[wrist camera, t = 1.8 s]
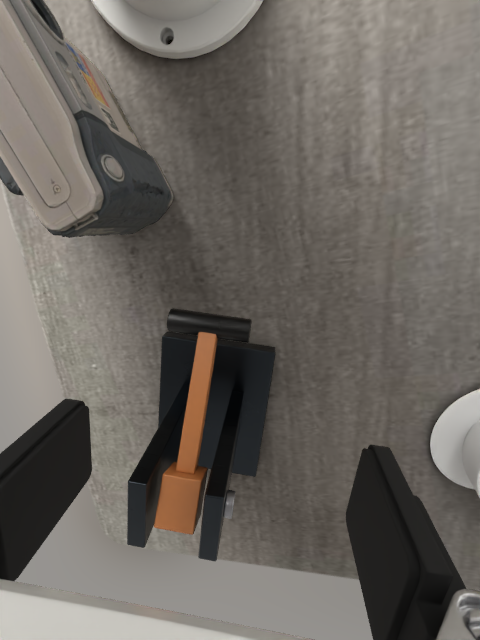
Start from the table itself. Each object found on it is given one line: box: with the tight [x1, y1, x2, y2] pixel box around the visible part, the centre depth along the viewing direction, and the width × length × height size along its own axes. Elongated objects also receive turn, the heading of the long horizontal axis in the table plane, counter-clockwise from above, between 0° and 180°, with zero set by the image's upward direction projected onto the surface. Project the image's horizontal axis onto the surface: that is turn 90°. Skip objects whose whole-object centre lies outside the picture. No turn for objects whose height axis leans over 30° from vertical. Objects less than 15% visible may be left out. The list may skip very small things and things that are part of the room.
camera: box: [0, 0, 173, 238], centre depth 18 cm, size 11×6×10 cm, turn 25°
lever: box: [154, 308, 252, 535], centre depth 19 cm, size 12×5×2 cm, turn 174°
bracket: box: [127, 332, 275, 561], centre depth 23 cm, size 12×9×12 cm
